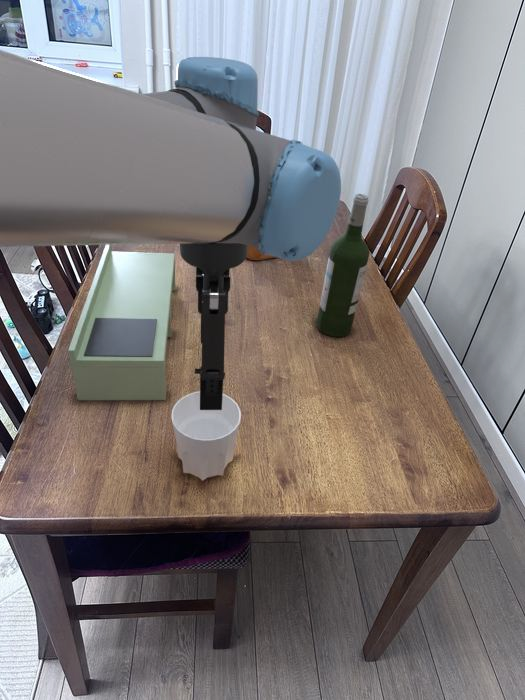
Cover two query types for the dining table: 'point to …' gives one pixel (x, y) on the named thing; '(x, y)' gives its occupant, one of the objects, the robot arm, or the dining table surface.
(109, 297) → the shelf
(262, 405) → the dining table surface
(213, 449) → the cup
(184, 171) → the robot arm
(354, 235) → the wine bottle
